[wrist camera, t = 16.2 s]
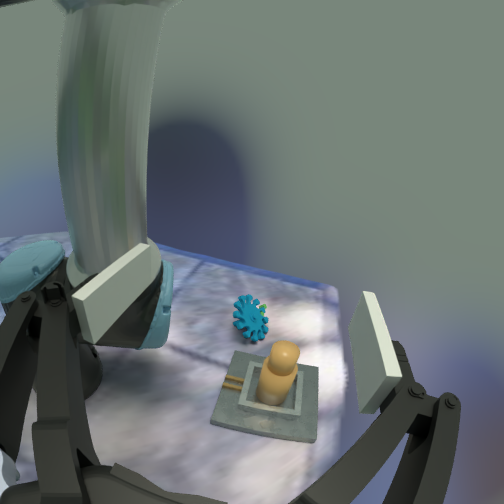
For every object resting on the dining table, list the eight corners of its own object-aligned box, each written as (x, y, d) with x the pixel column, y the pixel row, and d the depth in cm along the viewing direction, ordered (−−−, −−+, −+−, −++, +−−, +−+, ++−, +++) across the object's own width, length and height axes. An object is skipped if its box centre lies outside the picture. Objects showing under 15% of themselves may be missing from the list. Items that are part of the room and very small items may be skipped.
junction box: (210, 423, 35) (211, 414, 33) (234, 355, 49) (235, 344, 48) (313, 443, 33) (319, 435, 32) (316, 372, 47) (320, 361, 46)
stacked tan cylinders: (253, 401, 38) (265, 359, 34) (258, 378, 43) (270, 334, 39) (285, 407, 38) (303, 366, 33) (288, 384, 42) (304, 341, 38)
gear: (253, 348, 50) (230, 301, 51) (231, 354, 53) (209, 310, 54) (279, 326, 59) (259, 286, 60) (258, 333, 62) (240, 295, 63)
